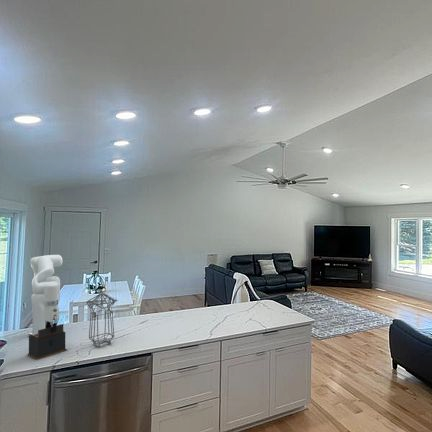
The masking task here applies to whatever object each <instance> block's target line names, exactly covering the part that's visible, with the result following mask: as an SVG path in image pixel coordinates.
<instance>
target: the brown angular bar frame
mask: <svg viewBox="0 0 432 432" xmlns="http://www.w3.org/2000/svg"><path fill="white" fill-rule="evenodd" d="M63 331H64V323H61V324H57V332H54V333H51V327H49V328H45V329H41V330H38V337H37V336H35V335H32V334H31V333H29V334H28V336H32V337H35V338H38V339H40V338H44V337H48V336H51V335H55V334H58V333H62V332H63Z"/></svg>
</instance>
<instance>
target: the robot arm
mask: <svg viewBox="0 0 432 432" xmlns="http://www.w3.org/2000/svg"><path fill="white" fill-rule="evenodd" d="M63 262H64V260H63V257H62V255H61V254H46V255H40V256H33V257H31V258H30V260H29V263H30V264H29V265H30V267H31V269H32V272H33V278H32V281H31V288H32V293H33V294H31V296H30V302H31V308H32V309H31V311H32V322H31V323H32V324H31V325H32V328H31V329H32V332H31V333H30V334H32V335H35V334H38V330H41V329H45V328H49V327H51V333H54V332H57V325H58V323H59V321H60V307H59V301H60V300H61V279H60V277H59V276H57V275H54V274H55V268H60V267H61V266H63Z"/></svg>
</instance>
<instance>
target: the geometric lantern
mask: <svg viewBox="0 0 432 432" xmlns="http://www.w3.org/2000/svg"><path fill="white" fill-rule="evenodd" d="M107 299H108V300H109V302H107ZM118 301H119V300H118V299H116V298H115V297H112V296H111V295H109V294H107V293H105V292H101V293H99V294H96V295H95V296H94V297H92V298H90V299H89V300H87V301H85V303H86V304H87V306H88V307H89V310H90V315H89V316H90V317H89V330H88V339H89V340H90V341H91V342H92V343H93V345H94V346H95V347H96V348H101V347H105V346H108V345H111V341H112V340H113V339H114V338H115V327H114V311H113V308H112V306H114V305H115V303H116V302H118ZM104 305H106V306H104ZM93 307H94V308H93ZM97 307H98V308H100V310H98V311H95V309H96V308H97ZM106 308H107V309H106ZM103 311H104V313H101V314H99V313H100V312H103ZM107 311H108V312H107ZM96 313H97V314H96ZM99 316H104V333H101V334H99ZM94 317H96V318H94ZM109 317H110V318H109ZM93 322H94V323H93ZM106 325H107V326H106ZM106 327H107V328H106ZM96 328H97V329H96ZM106 329H108V332H106V331H107V330H106ZM110 329H111V330H110ZM95 331H96V333H97V334H96V333H95ZM110 332H111V333H110ZM103 335H104V336H103ZM106 335H107V336H106ZM99 336H103V338H99ZM108 336H111V337H109V338H108ZM95 338H97V339H96V340H95ZM104 343H107V344H104ZM96 344H97V345H96ZM101 344H103V345H101Z"/></svg>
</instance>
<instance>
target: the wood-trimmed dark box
mask: <svg viewBox="0 0 432 432" xmlns="http://www.w3.org/2000/svg"><path fill="white" fill-rule="evenodd" d="M35 336H37V337H38V334H35ZM66 351H67V348H66V331H64V330H63V332H62V333H58V334H55V335H51V336H48V337H44V338H40V339H38V338H35V337H32V336H30V335H28V353H27V356H28V357H31V358H33V359H34V360H41V359H44V358H48V357H50V356H53V355H57V354H59V353H63V352H66Z"/></svg>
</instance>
